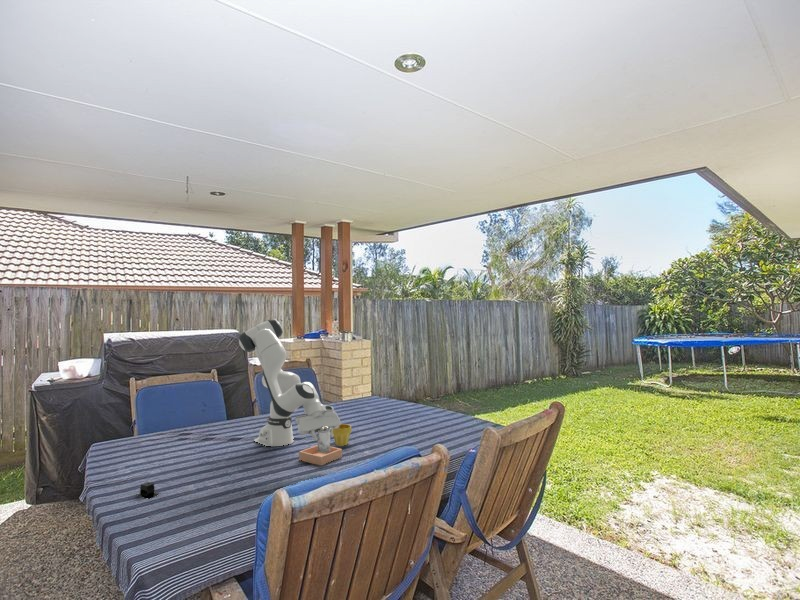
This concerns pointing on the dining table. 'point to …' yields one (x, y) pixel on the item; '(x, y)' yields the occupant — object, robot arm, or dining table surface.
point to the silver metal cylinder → (324, 439)
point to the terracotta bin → (319, 455)
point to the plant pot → (342, 434)
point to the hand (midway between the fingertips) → (324, 438)
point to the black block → (147, 490)
